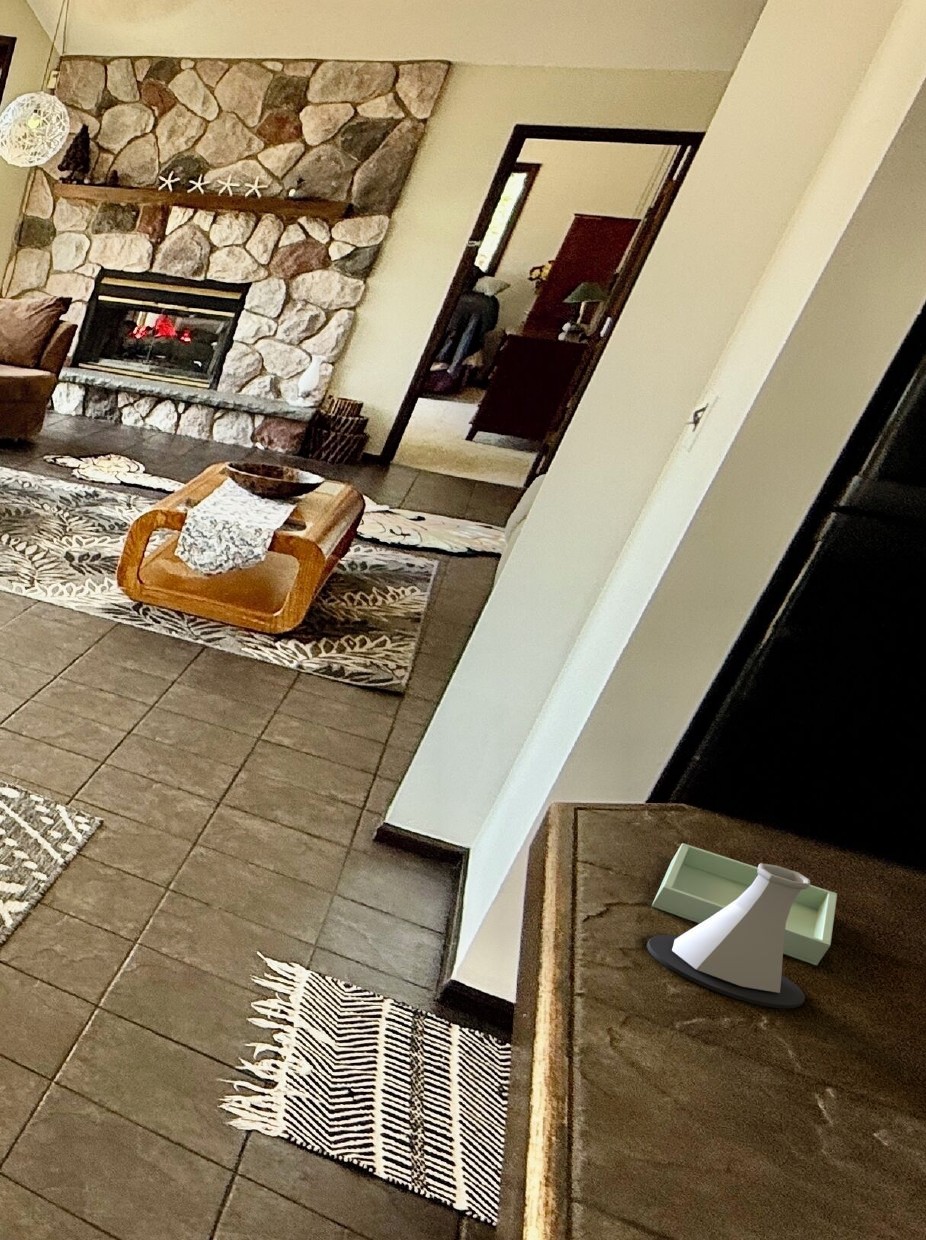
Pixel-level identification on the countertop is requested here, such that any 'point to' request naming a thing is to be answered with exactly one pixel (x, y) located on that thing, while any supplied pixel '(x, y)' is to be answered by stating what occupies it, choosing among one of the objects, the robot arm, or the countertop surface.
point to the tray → (717, 881)
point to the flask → (746, 932)
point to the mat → (785, 999)
